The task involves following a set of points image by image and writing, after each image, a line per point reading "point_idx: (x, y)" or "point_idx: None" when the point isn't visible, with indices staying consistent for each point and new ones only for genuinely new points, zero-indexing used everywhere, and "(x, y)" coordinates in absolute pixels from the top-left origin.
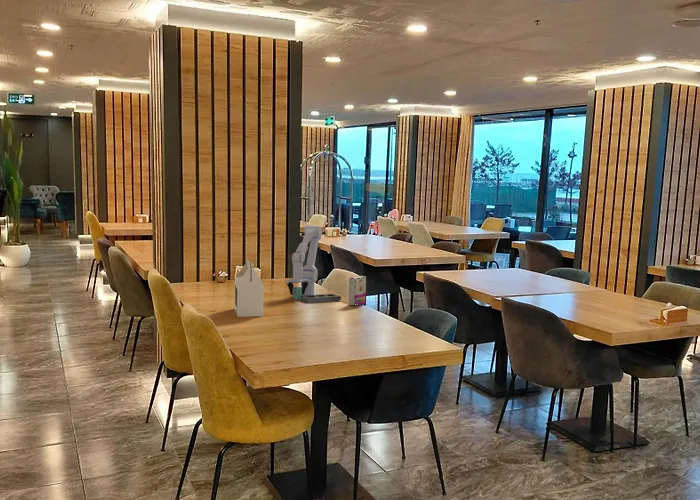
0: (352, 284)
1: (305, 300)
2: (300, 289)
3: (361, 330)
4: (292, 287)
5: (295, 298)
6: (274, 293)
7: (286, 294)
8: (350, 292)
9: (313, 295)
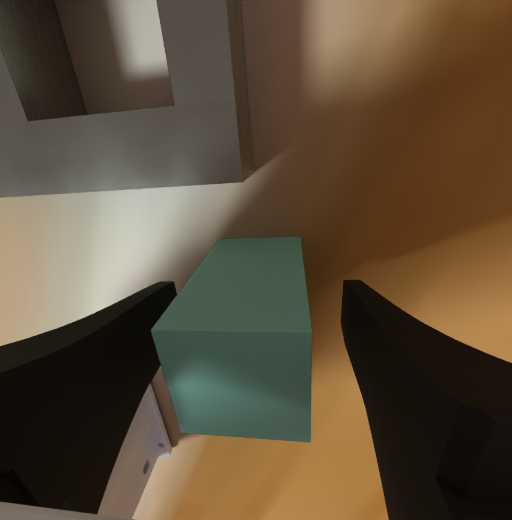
0: None
1: None
2: (196, 308)
3: None
4: (424, 352)
5: (300, 243)
6: (351, 513)
7: (278, 465)
8: None
9: (21, 110)
